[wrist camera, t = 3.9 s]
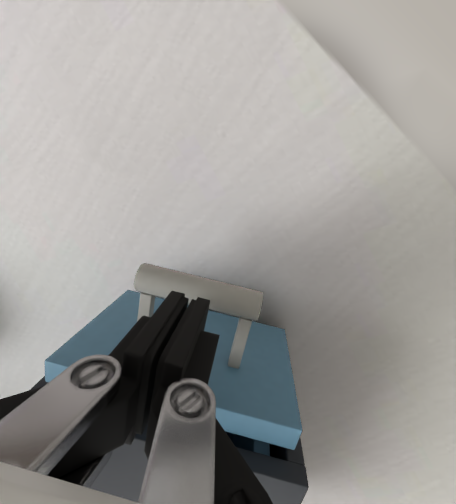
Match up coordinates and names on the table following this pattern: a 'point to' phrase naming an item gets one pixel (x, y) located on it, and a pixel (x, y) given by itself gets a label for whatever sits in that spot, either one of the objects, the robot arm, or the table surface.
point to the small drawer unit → (264, 467)
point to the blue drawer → (226, 357)
